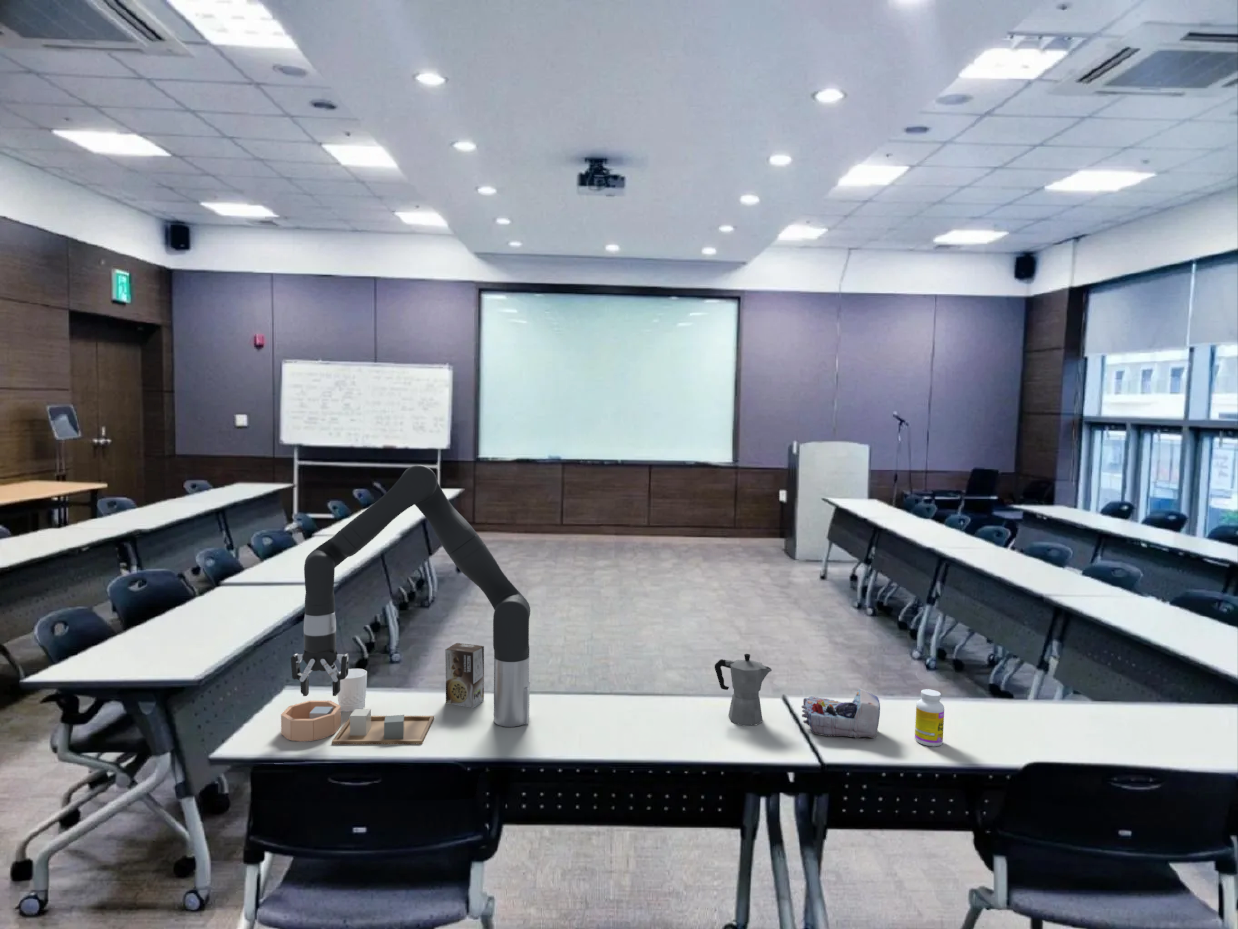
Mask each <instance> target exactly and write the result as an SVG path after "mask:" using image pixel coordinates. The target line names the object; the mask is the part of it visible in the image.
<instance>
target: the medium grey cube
mask: <svg viewBox="0 0 1238 929" xmlns="http://www.w3.org/2000/svg"><path fill="white" fill-rule="evenodd" d="M384 716H385V721H384V740H392V739H404V716H405V714H397V715H396V714H395V715H384Z"/></svg>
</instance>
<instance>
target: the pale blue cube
mask: <svg viewBox="0 0 1238 929" xmlns="http://www.w3.org/2000/svg"><path fill="white" fill-rule="evenodd" d="M332 711H333V707H315V708H314V709H313V710H312V711H311V712H310V713H309V715H310V719H314V718H318V717H321V716H324V715H328V714H331V713H332Z"/></svg>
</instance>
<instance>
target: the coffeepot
mask: <svg viewBox="0 0 1238 929" xmlns="http://www.w3.org/2000/svg"><path fill="white" fill-rule="evenodd" d="M743 655H744V659H736V660H731V659H723V658H722V659H718V661H717V662H716V663H715V664H714V671H715V674H716V676H717V680H718V683H719V688H721V690H724V691H725V690H726V691H728V690H729V687H730V686H726V685H725V678H724V676H723V671H722V667H724V668H727V669H730V674H731V685H732V689H733V694H732V697H731V700H730V701H731V702H730V706H729V711H728V718H729V721H730V722H731V723H733V724H735V725H739V726H740V725H741V726H745V727H746V726H748V727H749V726H757V725H760V723H762V722H763V713H762V708H761V707H762V706H761V705H762V704H761V700H760V696H759V695H760V694H759V692H760V691H761V689H762V683H763V681H764V680H765V678H766V677H767V675H768V674H769V673H770V672H772V668H771V667H769V666H767V665H765V664H763V663H762V662H760V661H756V660H752V659H750V658H751V654H749V653H745V654H743Z"/></svg>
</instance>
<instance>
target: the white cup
mask: <svg viewBox="0 0 1238 929" xmlns="http://www.w3.org/2000/svg"><path fill="white" fill-rule="evenodd" d="M338 672H339V673H340V674H341V670H340V671H338ZM367 679H368V671H367V670H365V669H363V668H348V675H347V677H346V678H345V679H342V680H340V692H339V693H338V694H337V695H336V696H337V704H338V705H340V706H341V712H346V713H352V712H353V711H354V710H355V709H365V707H366V698H367V697H366V696H367V681H368V680H367Z"/></svg>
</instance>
